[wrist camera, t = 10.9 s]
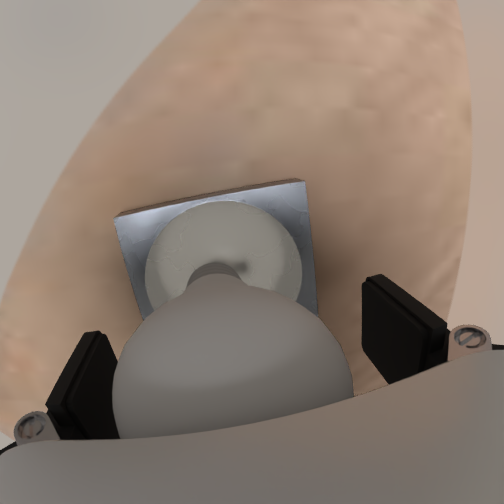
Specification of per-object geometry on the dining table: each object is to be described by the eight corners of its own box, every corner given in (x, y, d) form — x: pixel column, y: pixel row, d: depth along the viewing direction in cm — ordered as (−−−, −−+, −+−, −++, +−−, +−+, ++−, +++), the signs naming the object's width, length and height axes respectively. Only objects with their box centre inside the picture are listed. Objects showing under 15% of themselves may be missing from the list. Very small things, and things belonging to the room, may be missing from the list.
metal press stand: (316, 414, 21) (375, 546, 10) (199, 438, 20) (210, 582, 9) (295, 178, 16) (480, 243, 4) (121, 212, 15) (-25, 344, 4)
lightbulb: (280, 217, 15) (444, 361, 4) (272, 333, 16) (355, 519, 6) (145, 219, 14) (37, 392, 3) (155, 337, 15) (135, 543, 5)
